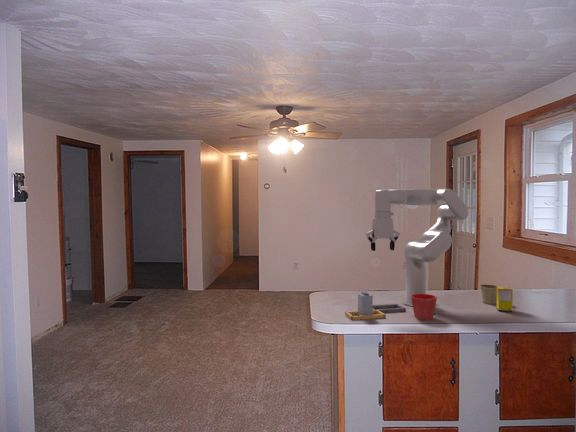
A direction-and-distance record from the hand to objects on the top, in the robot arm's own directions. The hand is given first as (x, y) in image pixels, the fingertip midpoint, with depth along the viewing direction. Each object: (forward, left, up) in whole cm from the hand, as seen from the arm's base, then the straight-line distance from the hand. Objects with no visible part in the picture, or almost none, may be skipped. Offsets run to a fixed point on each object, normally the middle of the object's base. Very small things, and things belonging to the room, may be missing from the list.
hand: (382, 250), depth 193 cm
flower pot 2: (-58, +2, -28) cm, 65 cm away
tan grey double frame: (+7, +8, -28) cm, 30 cm away
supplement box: (-55, +16, -28) cm, 64 cm away
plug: (+14, +12, -28) cm, 34 cm away
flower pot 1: (-11, +19, -28) cm, 36 cm away
